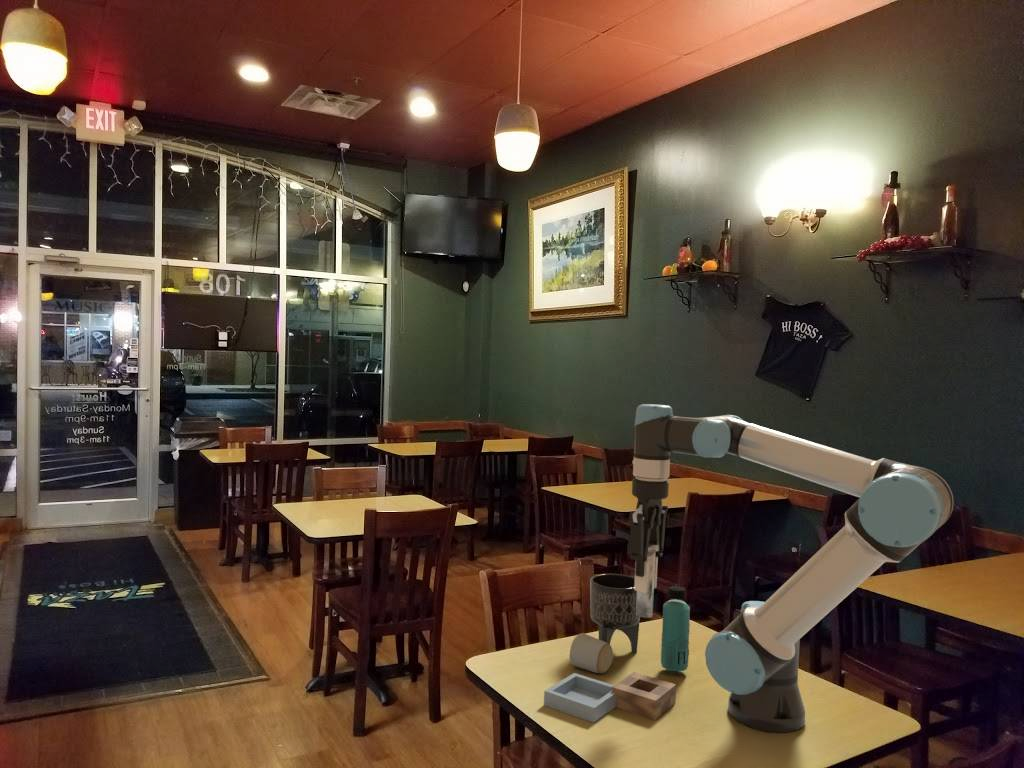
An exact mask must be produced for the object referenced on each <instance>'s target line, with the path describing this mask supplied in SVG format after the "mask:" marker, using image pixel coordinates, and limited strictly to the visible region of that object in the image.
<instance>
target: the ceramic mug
mask: <svg viewBox="0 0 1024 768" xmlns="http://www.w3.org/2000/svg"><path fill="white" fill-rule="evenodd" d="M613 651H614V650H613V647H612V645H611V644H610V645H609V644H608V643H606V642H604V641H602V640H599V638H596V637H594V636H591V635H589V634H586V633H584V632H581V633H578V634H576V635H575V637H574V638H573V640H572V643H571V645H570V650H569V663H570V664H571V665H572V666H573V667H576V668H580V669H583V670H586V671H589V672H591V673H596V674H604V673H606V672H607V671H608V670H609V668H610V667H611V665H612V663H613V659H614V658H613V657H614V652H613Z"/></svg>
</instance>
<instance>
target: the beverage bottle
mask: <svg viewBox="0 0 1024 768" xmlns="http://www.w3.org/2000/svg"><path fill="white" fill-rule="evenodd" d="M686 592H687V590H686V588H685V587H682V586H678V585H677V586H676V585H673V586H669V587H668V592H667V597H669V598H670V600H668V601H666V602H665V603H663V605H662V629H661V630H662V631H661V640H660V641H661V643H660V644H661V648H660V664H661V666H662V668H664V669H665V670H668V671H673V672H683V671H686V670H688V667H689V662H690V661H689V656H690V647H689V646H690V634H691V633H690V627H691V622H690V617H691V616H690V611H691V607H690V605H689V604H687V603H686V602H685V601H684V600H685V599H686V598H687V595H686V594H687V593H686Z"/></svg>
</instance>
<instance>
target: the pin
mask: <svg viewBox="0 0 1024 768" xmlns="http://www.w3.org/2000/svg"><path fill="white" fill-rule="evenodd" d="M658 547H659V545H658V544H656V543H650V542H649V547H648V555H647V561H649V572H648V592H647V593H644V592H640V591H637V598H636V615H637V616H639V617H640V618H644V619H646V618H648V619H649V618H652V617H653V612H654V593H655V591H654V590H655V588H654V575H655V554H656V551H658Z"/></svg>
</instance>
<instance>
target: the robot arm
mask: <svg viewBox="0 0 1024 768" xmlns="http://www.w3.org/2000/svg"><path fill="white" fill-rule="evenodd" d="M633 443H634V445H633V446H634V449H633V459H632V467H633V468H632V475H633V476H634V477H633V479H632V483H631V484H632V485H631V494H632V496H633V497H635V498H636V499H637V502H636V507H635V511H630V512H629V515H628V516H629V521H630V522H629V523H630V533H629V534H630V535H629V537H630V539H629V540H630V541H629V558H630V559H631V560H635V563H634V564H635V565H634V567H635V568H634V577H635V583H634V590H636V591H640V592H644V593H647V592H648V572H649V561H647V555H648V547H649V542H650V543H656V544H658V545H659V547H658V551H656V554H655V575H654V589H656V588H657V583H658V563H659V562H658V561H659V557H660V558H662V557H663V555H664V553H663V551H664V547H665V537H666V536H665V535H666V533H665V532H666V519H667V513H668V509H669V506H668V505H665V504H663V500H665V499H667V498H668V497H669V487H670V486H669V484H670V482H669V480H668V478H670V469H671V468H670V466H671V465H670V464H671V453H674V454H675V453H677V454H681V455H682V454H683V455H691V456H698V457H702V458H705V459H707V458H716V459H717V458H719V459H720V458H722V457H724V456H725V455H726V454H729V455H731V456H735V457H738V458H742V459H744V460H747V461H750V462H753V463H757V464H758V465H763V466H765V467H768V468H771V469H774V470H777V471H779V472H783V473H786V474H789V475H792V476H795V477H796V478H797V477H798V478H800V479H803V480H806V481H808V482H812V483H814V484H818V485H821V486H824V487H827V488H831V489H833V490H836V491H840V492H842V493H844V494H848V495H850V496H854V497H857V498H858V499H857V500H856V501H855V502H854V503H853V504H852V505H851V506H850V507H849V508H848V509H847V510H846V511H845V513H844V522H845V523H844V526H843V527H842V528H841V529H840V530H838V532H837V533H836V534H834V535H833V537H831V538H830V539H829V540H828V541H827V542H826V543H825V544H824V545H823V546H822V547H821V548H820V549H819V550H818V551H816V553H814V555H812V556H811V558H809V559H808V560H807V561H806V562H805V563H804V564H803V565H802V566H801V567H800V568H799V569H797V571H795V573H794V574H793V575H791V576H790V578H788V579H787V580H786V582H784V583H783V584H781V586H780V587H779V588H778V589H777V590H776V591H775V592H774V593H772V595H771V596H770V597H769V598H768V599H767V600H766V601H760V600H749V601H745V602H743V603H742V605H741V609H740V612H739V613H740V614H738V615H737V616H736V617H735V618H734V619H733V620H732V621H731V622H730V623H729V624H728V625H727V626H726V627H725V628H724V629H723V630H721V631H719V632H716V633H715V634H714V635H712V636H711V638H710V640H709V641H708V642H707V645H706V648H705V652H704V657H705V665H706V668H707V670H708V672H709V674H710V676H711V677H712V678H713V680H714V681H715V682H716V683H717V685H718V686H720V687H721V688H722V689H724V690H726V691H727V692H729V693H730V694H729V696H728V705H727V710H728V713H729V715H730V716H731V717H732V718H734V720H736V721H737V722H739V723H741V724H743V725H745V726H747V727H749V728H753V729H756V730H759V731H764V732H768V733H769V732H770V733H790V732H796V731H798V730H800V729H802V728H803V727H804V726H805V724H804V723H806V708H805V706H804V702H803V701H804V700H803V698H802V694H801V691H800V688H799V683H798V682H799V678H798V677H799V663H800V662H799V660H800V659H799V658H800V643H801V642H800V641H801V640H800V639H802V638H803V637H804V636H805V635H806V634H807V633H808V632H809V631H810V630H811V629H813V627H815V626H816V625H817V624H818V623H819V622H820V621H821V620H823V619H824V618H825V617H826V616H827V615H828V614H829V613H830V612H831V611H832V610H834V609H835V608H836V607H837V606H838V605H839V604H840V603H841V602H843V601H844V599H846V598H847V597H848V596H849V595H850V594H851V593H852V592H853V591H855V590H856V589H857V588H858V587H859V586H860V585H861V584H863V583H864V582H865V581H866V580H867V579H868V578H869V577H871V575H873V573H875V572H876V571H877V570H878V569H880V568H881V566H882V565H883V564H885V563H900V562H902V561H903V560H904V559H905V558H906V557H907V556H909V555H910V554H911V553H912V552H913V551H914V550H915V549H916V548H917V547H919V546H920V545H921V544H922V543H923V542H925V541H926V540H928V539H929V538H930V537H932V535H933V534H934V533H935V532H936V531H937V530H938V529H939V528H941V527H942V526H943V525H945V523H947V521H948V520H949V518H951V516H952V515H951V514H952V513H953V510H954V503H955V502H954V495H953V492H952V490H951V487H950V486H949V484H948V483H947V481H946V480H945V479H944V478H943V477H942V476H941V475H939V474H938V473H937V472H935V471H933V470H931V469H928V468H925V467H923V466H917V465H911V464H907V463H903V462H899V461H895V460H892V459H888V458H885V457H882V458H880V459H878V460H873V459H870V458H866V457H864V456H859V455H856V454H853V453H850V452H846V451H844V450H840V449H837V448H833V447H829V446H827V445H823V444H820V443H816V442H813V441H810V440H807V439H804V438H800V437H796V436H793V435H790V434H788V433H784V432H781V431H778V430H774V429H772V428H771V429H770V428H768V427H764V426H760V425H758V424H755V423H750V422H748V421H745V420H743V418H741V417H739V416H738V415H732V414H722V415H716V416H706V417H686V416H677V415H674V413H673V408H672V407H671V406H670V405H668V404H667V405H665V404H656V403H655V404H651V403H650V404H649V403H648V404H647V403H646V404H645V403H642V404H640V405H638V406H637V407H636V411H635V421H634V442H633ZM803 725H804V726H803ZM802 726H803V727H802ZM801 727H802V728H801Z"/></svg>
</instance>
